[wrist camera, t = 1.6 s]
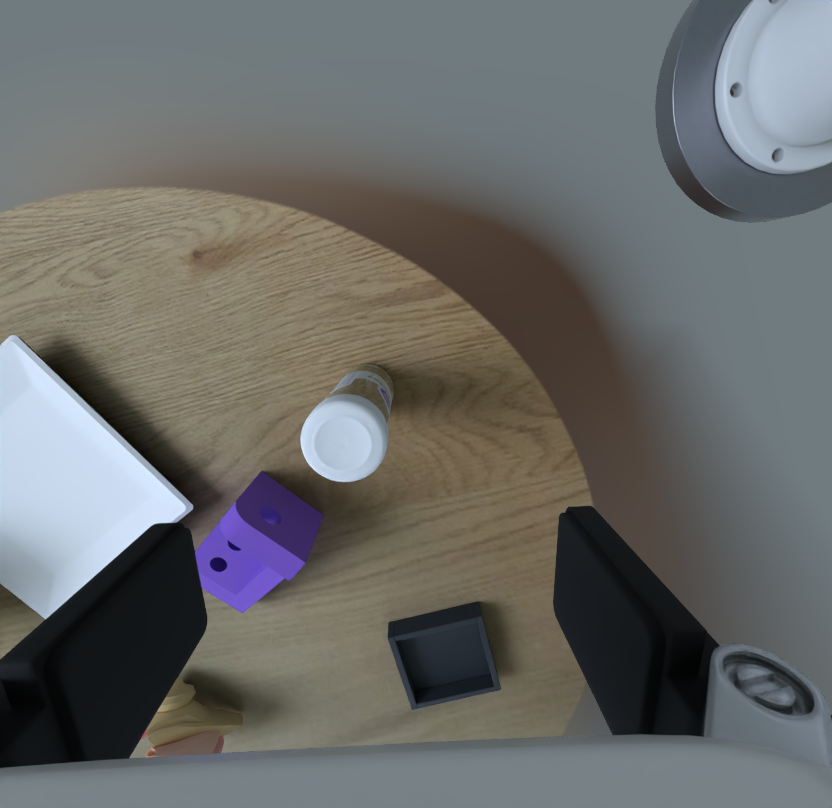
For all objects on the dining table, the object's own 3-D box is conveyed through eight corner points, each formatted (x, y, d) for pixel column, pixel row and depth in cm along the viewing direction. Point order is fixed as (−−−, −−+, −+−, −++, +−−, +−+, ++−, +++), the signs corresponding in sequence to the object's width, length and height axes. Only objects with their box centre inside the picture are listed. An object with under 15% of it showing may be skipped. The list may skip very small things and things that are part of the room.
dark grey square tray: (478, 601, 39) (482, 616, 37) (496, 672, 41) (501, 690, 40) (388, 622, 40) (387, 638, 38) (411, 692, 42) (412, 710, 40)
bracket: (261, 471, 35) (228, 510, 28) (323, 515, 36) (305, 562, 30) (187, 562, 37) (140, 618, 31) (248, 601, 38) (215, 663, 32)
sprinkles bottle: (404, 394, 34) (404, 453, 21) (362, 425, 34) (336, 501, 21) (371, 351, 33) (349, 384, 20) (328, 383, 33) (279, 436, 20)
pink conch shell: (133, 674, 41) (133, 702, 33) (237, 653, 46) (257, 674, 39) (117, 784, 38) (113, 843, 31) (230, 749, 44) (250, 791, 36)
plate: (205, 497, 36) (193, 509, 34) (66, 607, 38) (47, 624, 36) (35, 330, 32) (10, 332, 30) (-109, 466, 34) (-141, 476, 32)
